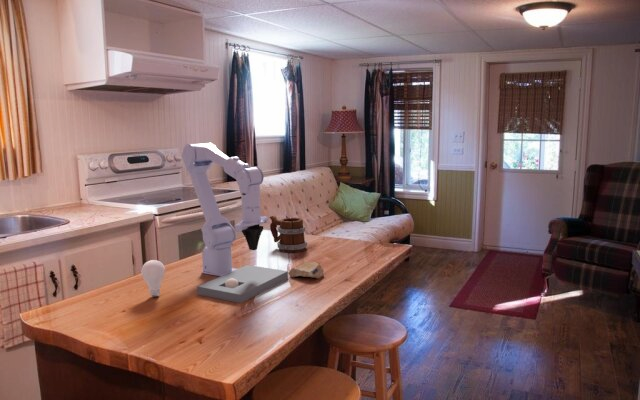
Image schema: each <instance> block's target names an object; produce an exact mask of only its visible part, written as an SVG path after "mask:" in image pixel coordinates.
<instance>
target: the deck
mask: <svg viewBox="0 0 640 400" xmlns="http://www.w3.org/2000/svg"><path fill="white" fill-rule="evenodd" d="M236 269H237V270H235V271H232V272H230V273H228V274H225V275H223V276H217V277H216V278H214V279H212V280H209V281H206V282H205V283H202V284H200V285H197V290H196V291H197V295H199V296H203V297H208V298H211V299H212V298H213V299H219V300H223V301H229V302H232V303H238V304H242V303H245V302H246V301H249V300H250V299H252V298H254V297H256V296H258V295H259V294H261V293H263V292H265V291H267V290H269V289H271V288H273V287H276V285H279V284H281V283H282V282H284V281H287V280H288V279H289V270H282V269H278V268H277V269H276V268H269V267H264V266H257V265H256V266H255V265H251V264H246V265H244V266H241V267H239V268H236ZM230 278H234V279H236V280H237V281H238V284H239V286H237V287H235V288H228V287H225V283H226V281H227V280H228V279H230Z"/></svg>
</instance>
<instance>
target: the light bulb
mask: <svg viewBox="0 0 640 400" xmlns="http://www.w3.org/2000/svg"><path fill="white" fill-rule="evenodd" d="M140 271H141V273H140V274H141V277H142V279H143V281H144V282H145V283H146V284H147V288H148V290H149V296H151V297H153V298H157V297H159V296H160V295H161V290H160V289H161V286H162V285H161V284H162V281H163V279H164V277H165V275H166V268H165V265H164V264H163V262H161V261H159V260H156V259H151V260H148V261H146V262H144V263H143V265H142V267H141V269H140Z"/></svg>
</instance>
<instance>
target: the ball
mask: <svg viewBox="0 0 640 400" xmlns="http://www.w3.org/2000/svg"><path fill="white" fill-rule="evenodd" d="M237 286H239V284H238V281H237V280H236V279H234V278H230V279H228V280H227V281H226V283H225V287H228V288H235V287H237Z"/></svg>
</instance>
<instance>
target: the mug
mask: <svg viewBox="0 0 640 400" xmlns="http://www.w3.org/2000/svg"><path fill="white" fill-rule="evenodd" d="M269 219H270V220H271V222H270V225H269V229H270V232H271V236H272V237H273V242H274V243H277V248H278V251H279V252H282V253H285V254H287V253H288V254H293V253H295V254H297V253H301V252H304V251H305V250H306V249H307V245H308V242H307V240H305V239H306V238H305V231H306V228H307V227H306V226H305V225H304V222H303V221H304V220H303V218H300V217H291V218H290V217H284V218H282V219H280V220H279V219H277V217H275V215H271V216H270V217H269ZM277 227H278V228H277ZM278 233H279V234H278Z"/></svg>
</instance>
